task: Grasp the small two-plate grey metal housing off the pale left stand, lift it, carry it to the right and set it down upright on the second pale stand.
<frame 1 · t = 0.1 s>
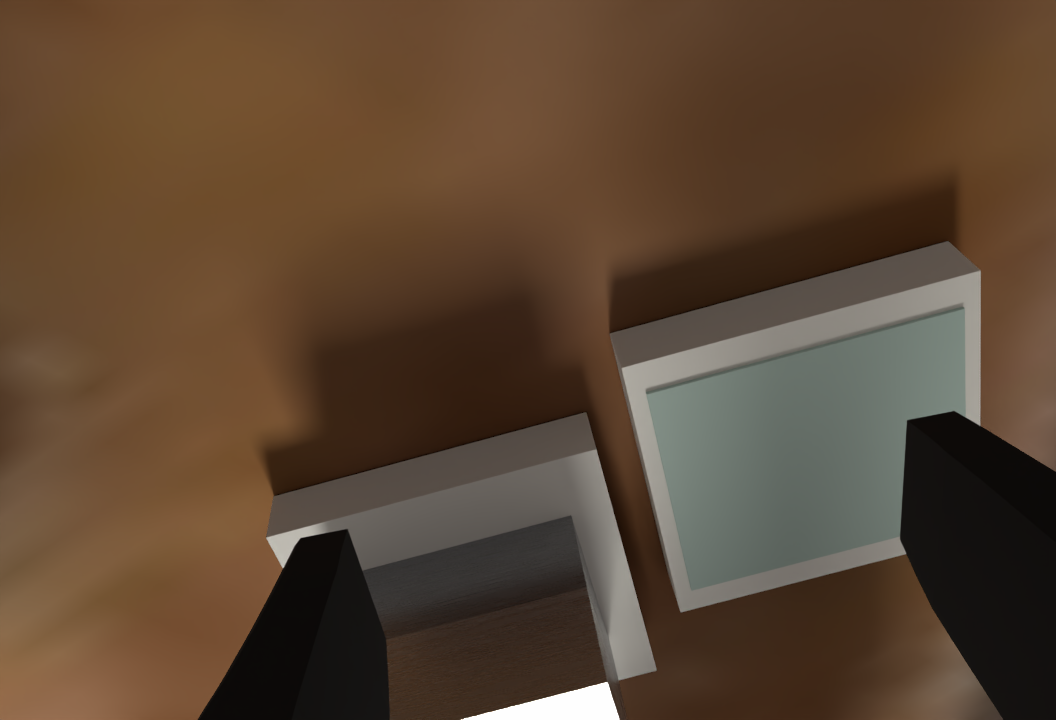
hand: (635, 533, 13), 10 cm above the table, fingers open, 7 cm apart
stand B: (794, 422, 25), on the table
stand A: (473, 567, 26), on the table
housing: (476, 609, 25), point 1 cm above the table, touching stand A
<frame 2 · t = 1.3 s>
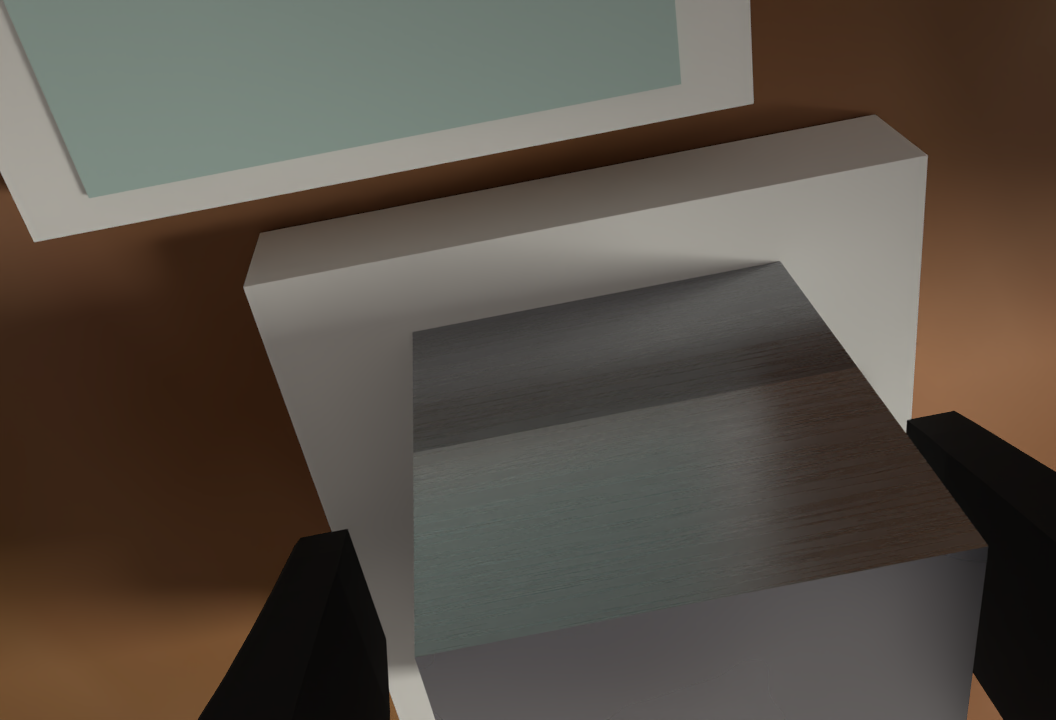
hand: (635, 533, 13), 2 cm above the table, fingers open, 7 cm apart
stand A: (604, 422, 15), on the table
housing: (623, 486, 13), point 1 cm above the table, touching stand A
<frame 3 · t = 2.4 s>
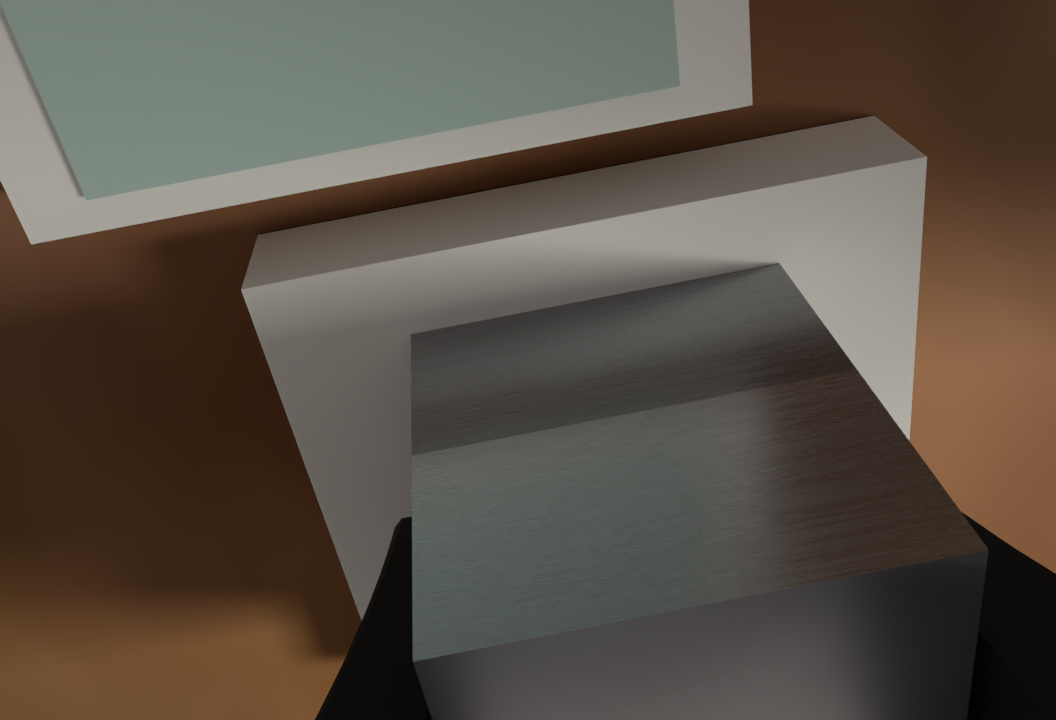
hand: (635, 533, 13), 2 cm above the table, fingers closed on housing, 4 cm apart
stand A: (603, 424, 15), on the table
housing: (622, 488, 13), point 1 cm above the table, touching gripper, stand A
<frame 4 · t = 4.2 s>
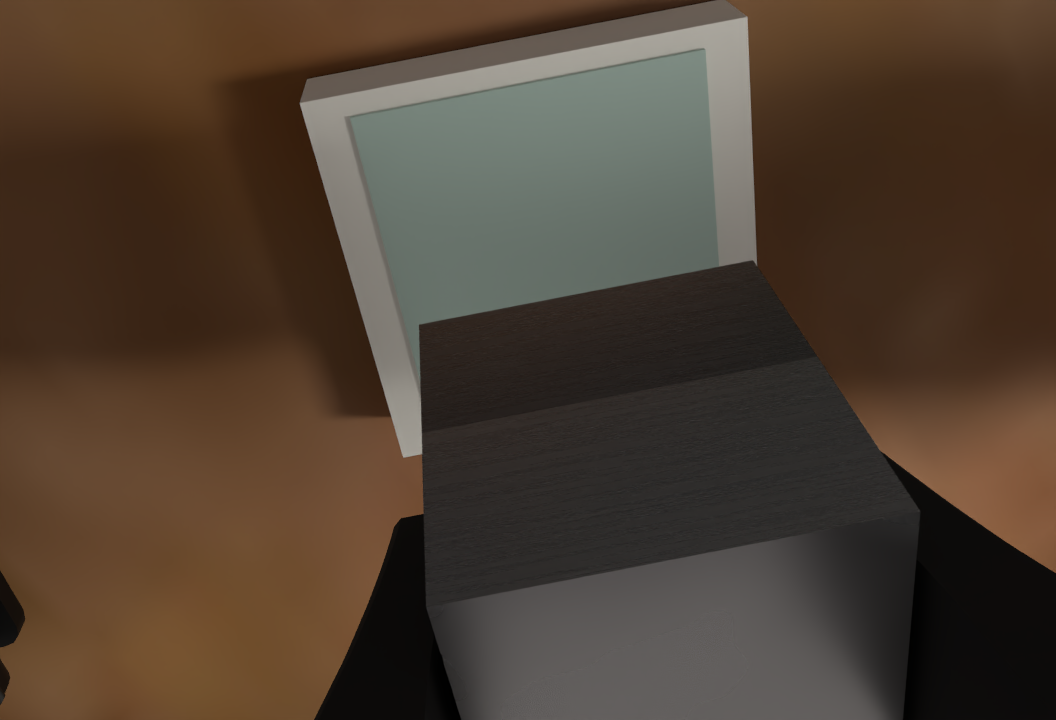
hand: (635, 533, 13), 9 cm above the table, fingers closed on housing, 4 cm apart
stand B: (547, 230, 21), on the table
housing: (611, 465, 15), point 7 cm above the table, touching gripper
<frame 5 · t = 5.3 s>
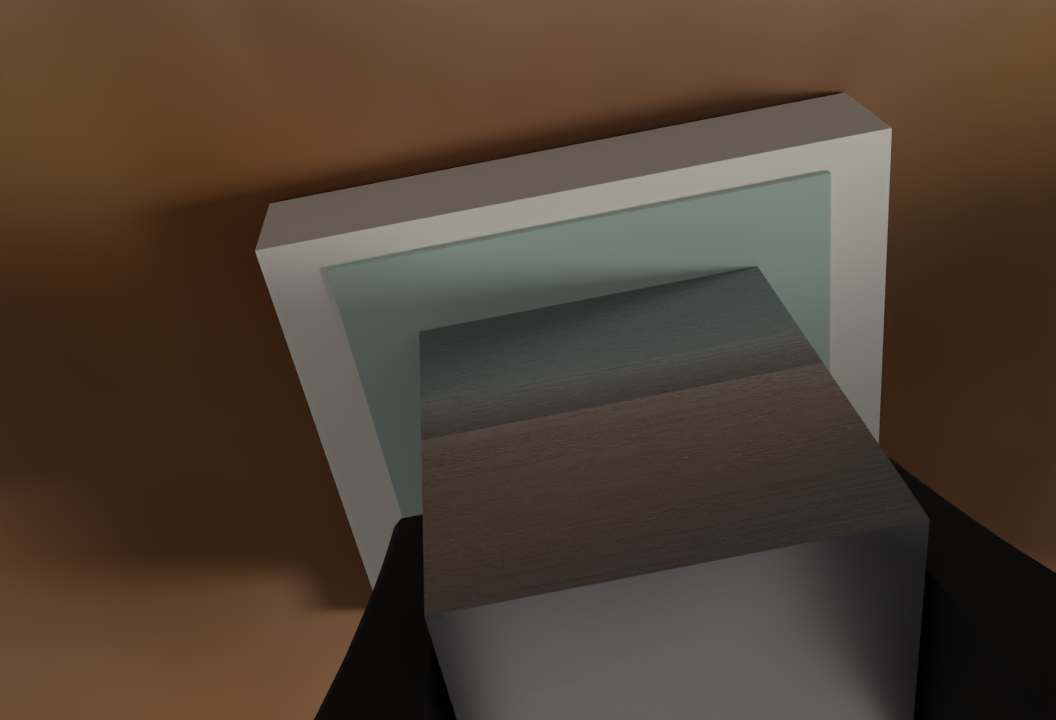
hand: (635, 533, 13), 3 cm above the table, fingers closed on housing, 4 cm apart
stand B: (594, 387, 15), on the table
housing: (614, 474, 14), point 2 cm above the table, touching gripper, stand B
when the fingers open (3 cm above the table, at t = 6.1 s): housing stays where it is, resting on stand B.
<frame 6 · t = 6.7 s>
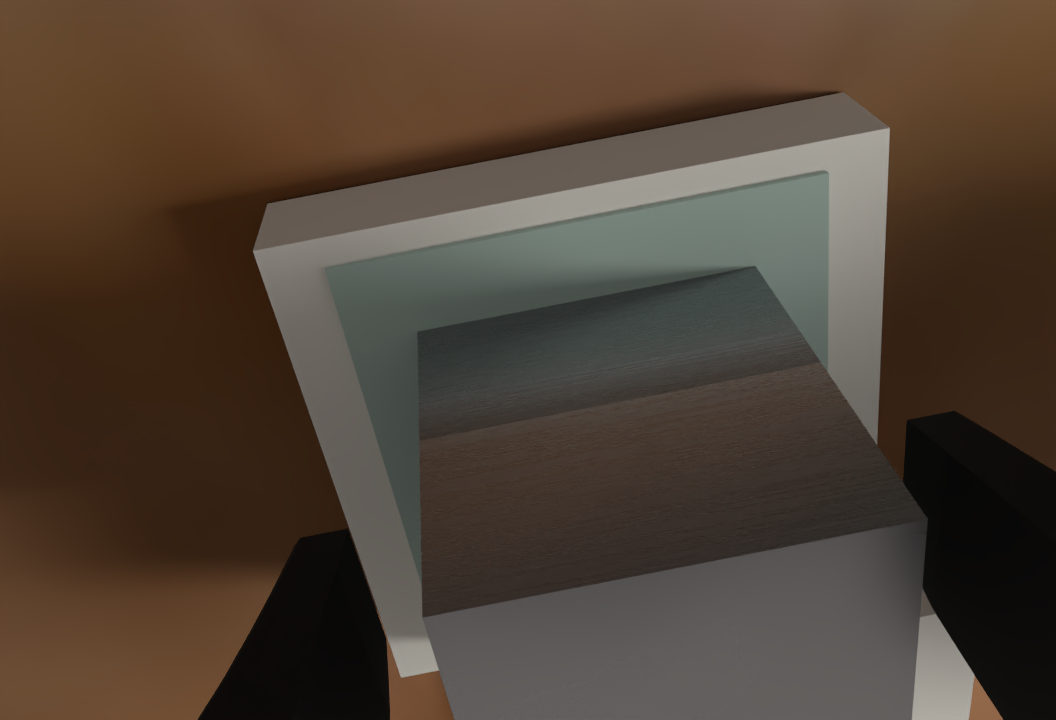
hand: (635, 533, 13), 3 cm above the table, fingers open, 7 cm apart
stand B: (592, 387, 15), on the table
housing: (612, 475, 14), point 2 cm above the table, touching stand B
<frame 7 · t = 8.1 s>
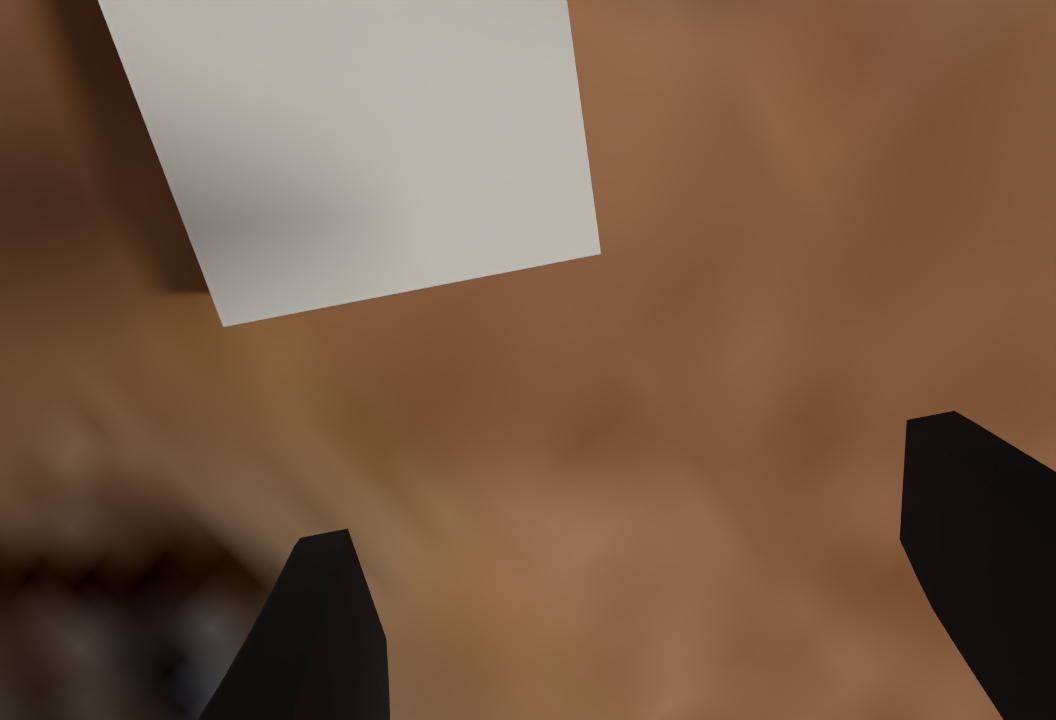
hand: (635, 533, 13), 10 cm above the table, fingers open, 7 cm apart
stand A: (367, 81, 19), on the table
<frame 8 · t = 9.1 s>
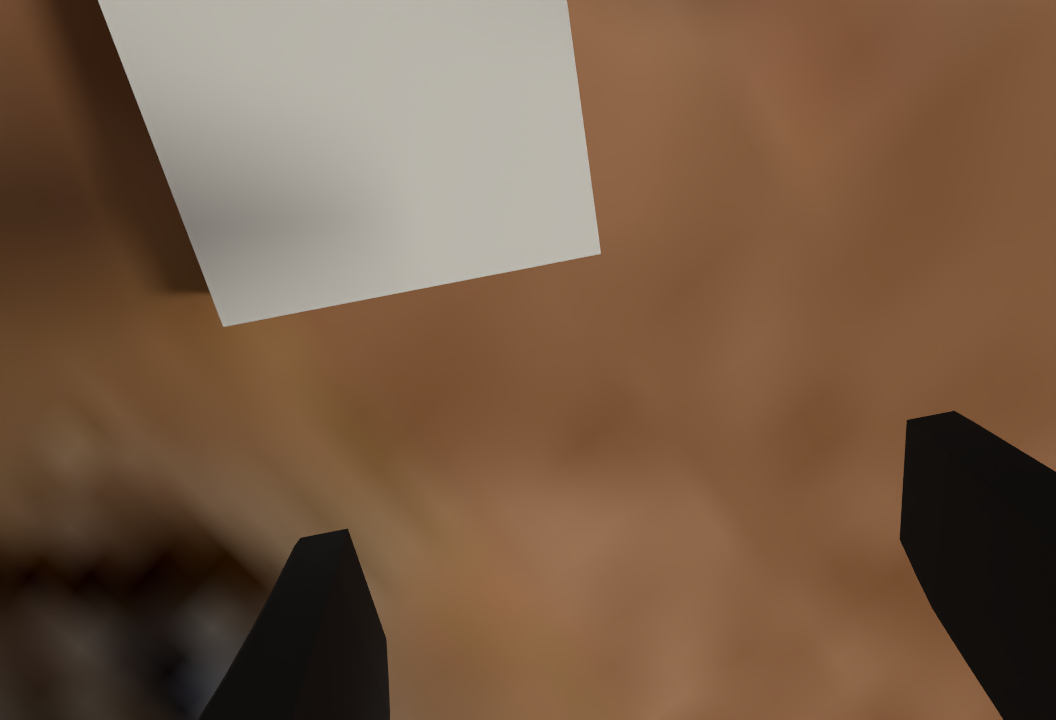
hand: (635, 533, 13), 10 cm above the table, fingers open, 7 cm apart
stand A: (367, 81, 19), on the table
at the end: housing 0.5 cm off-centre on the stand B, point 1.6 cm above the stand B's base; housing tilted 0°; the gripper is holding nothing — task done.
